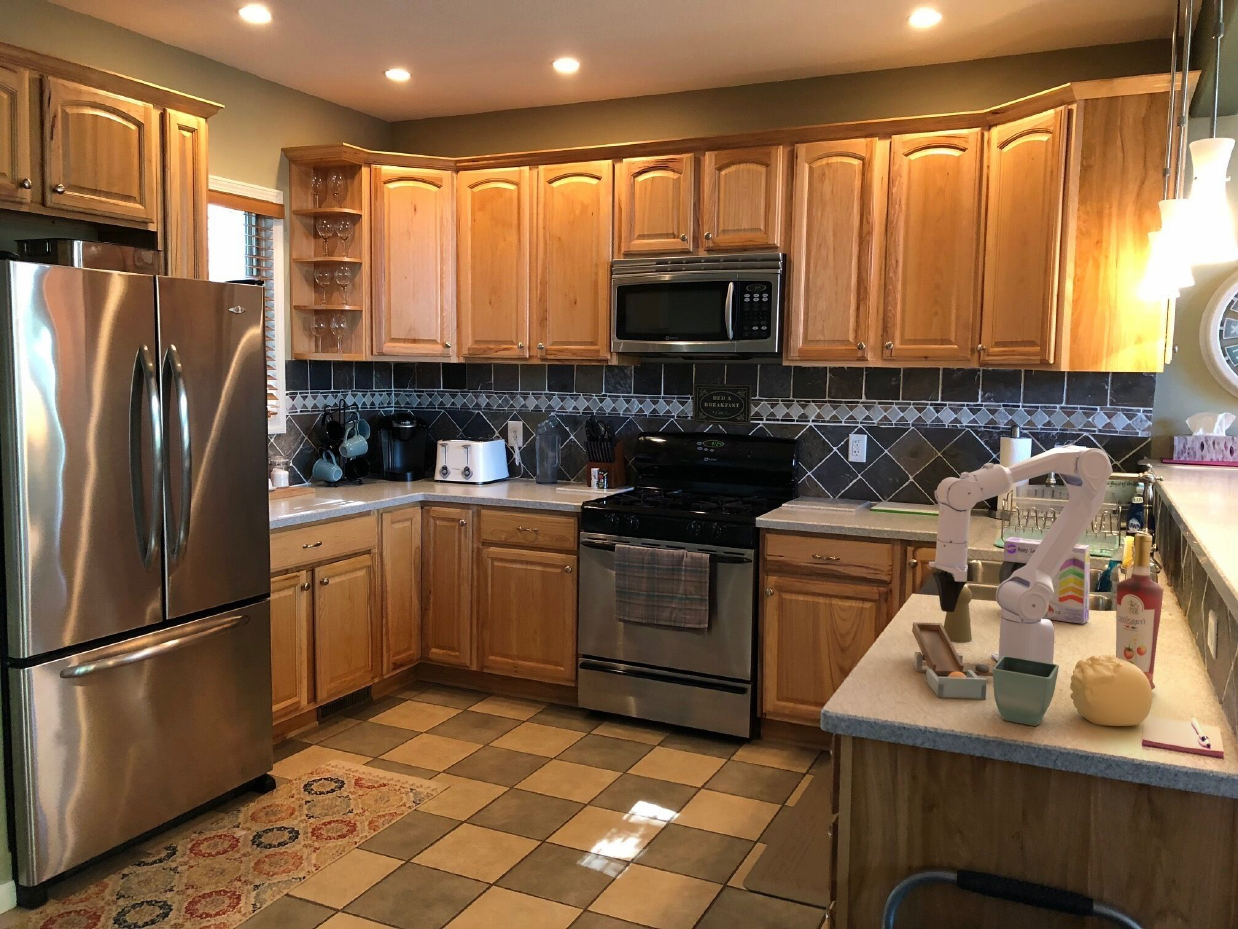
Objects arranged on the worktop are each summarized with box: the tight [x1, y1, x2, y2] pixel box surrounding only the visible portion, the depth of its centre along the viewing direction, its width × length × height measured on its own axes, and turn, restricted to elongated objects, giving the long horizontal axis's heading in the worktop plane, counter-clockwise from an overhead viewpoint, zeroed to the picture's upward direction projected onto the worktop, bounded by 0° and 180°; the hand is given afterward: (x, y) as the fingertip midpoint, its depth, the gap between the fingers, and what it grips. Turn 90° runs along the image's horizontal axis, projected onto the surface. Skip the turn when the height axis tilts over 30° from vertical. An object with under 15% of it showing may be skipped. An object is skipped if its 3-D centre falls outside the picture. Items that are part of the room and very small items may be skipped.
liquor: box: [1115, 533, 1164, 691], centre depth 176 cm, size 7×7×28 cm
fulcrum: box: [913, 651, 964, 673], centre depth 187 cm, size 8×2×3 cm, turn 87°
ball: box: [947, 671, 967, 678], centre depth 174 cm, size 4×4×4 cm
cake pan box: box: [998, 536, 1091, 625], centre depth 229 cm, size 19×5×18 cm, turn 49°
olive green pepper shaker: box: [943, 586, 973, 643], centre depth 209 cm, size 6×6×11 cm
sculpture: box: [1069, 653, 1153, 727], centre depth 161 cm, size 11×12×11 cm
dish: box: [925, 669, 988, 700], centre depth 175 cm, size 8×9×4 cm
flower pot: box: [992, 656, 1060, 727], centre depth 161 cm, size 9×9×9 cm
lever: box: [912, 621, 993, 677], centre depth 188 cm, size 11×16×3 cm
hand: (947, 611), depth 190 cm, fingers closed
